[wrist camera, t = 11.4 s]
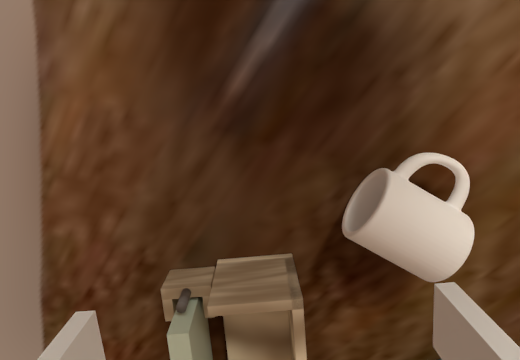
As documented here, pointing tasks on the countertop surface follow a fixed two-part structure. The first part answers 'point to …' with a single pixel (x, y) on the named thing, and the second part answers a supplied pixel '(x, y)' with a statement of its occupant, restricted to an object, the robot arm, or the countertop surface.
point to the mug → (412, 219)
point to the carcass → (246, 304)
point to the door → (190, 333)
